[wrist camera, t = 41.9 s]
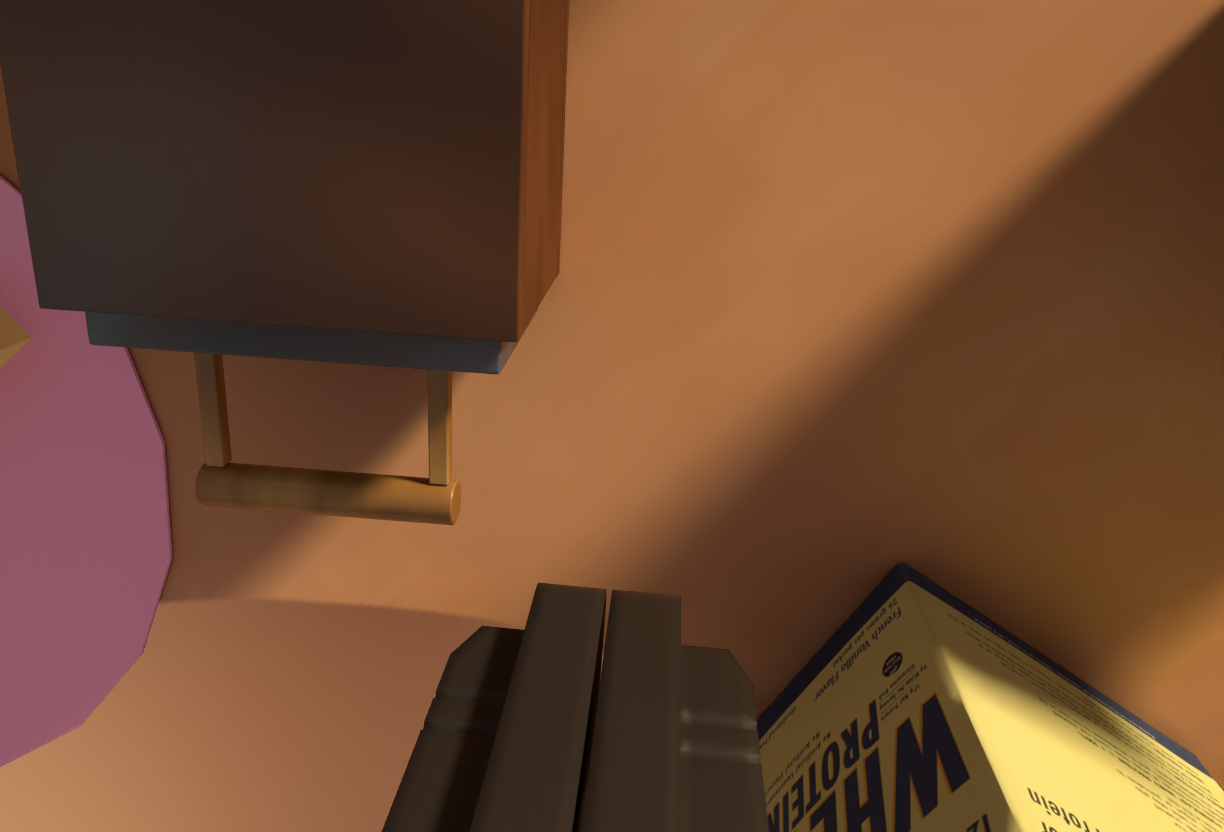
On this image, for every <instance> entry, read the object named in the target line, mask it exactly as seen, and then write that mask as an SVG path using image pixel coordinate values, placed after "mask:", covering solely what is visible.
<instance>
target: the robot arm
mask: <svg viewBox="0 0 1224 832" xmlns="http://www.w3.org/2000/svg"><path fill="white" fill-rule="evenodd" d="M606 592H607V591H606V589H599V588H589V587H578V586H568V585H558V584H547V583H538V585H537V587H536V590H535V594H534V598H533V601H532V605H531V609H530V612H529V616H528V620H527V623H526V627H525V630H520V629H509V628H499V627H489V626H482V627H480V628H479V629H478V630H477V631H476V632H475V633H474V634H472V635H471V636H470V637H469V638H468V639H467V640H466V641H465V642H464V643H462V644H461V645H460V646H459V647H458V648H457V649H456V650H455V651H454V652H452V653H451V654H450V657H449V659H448V662H447V664H446V667H445V669H444V672H443V675H442V677H441V680H440V682H439V685H438V688H437V690H436V697H435V698H433V700H432V703H431V706H430V708H429V711H428V713H427V716H426V719H425V721H424V728H423V730H421V731H420V734H419V737H418V739H417V742H416V745H415V747H414V750H413V752H412V755H411V757H410V760H409V763H408V765H407V768H406V771H405V773H404V776H403V778H402V781H401V783H400V786H399V789H398V791H397V794H396V796H395V799H394V801H393V804H392V807H391V809H390V812H389V814H388V817H387V820H386V822H385V825H384V827H383V830H382V832H769V826H768V817H767V808H766V799H765V791H764V782H763V773H762V764H760V756H761V755H760V746H759V738H758V731H757V730H756V726H757V720H756V711H755V702H754V693H753V684H752V683H751V681H750V680H749V678H748V677H747V676H746V674H745V673H744V671H743V670H742V669H741V667H740V666H739V664H738V663H737V661H736V660H735V659H734V657H733V656H732V654H731V653H730V651H729V650H727V649H716V648H706V647H696V646H686V645H681V597H680V596H675V595H665V594H654V593H644V592H633V591H623V590H612V595H611V603H610V611H609V618H608V626H607V634H606V641H605V649H604V657H603V665H602V672H601V663H602V650H603V637H604V623H605V610H606ZM600 676H601V680H600Z"/></svg>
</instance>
